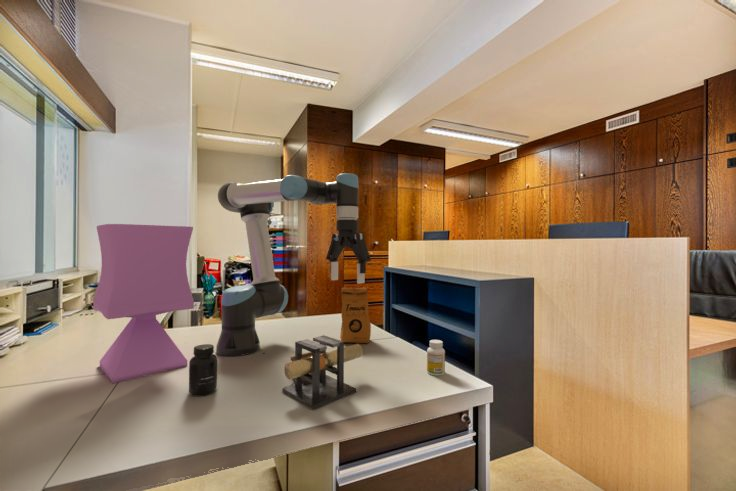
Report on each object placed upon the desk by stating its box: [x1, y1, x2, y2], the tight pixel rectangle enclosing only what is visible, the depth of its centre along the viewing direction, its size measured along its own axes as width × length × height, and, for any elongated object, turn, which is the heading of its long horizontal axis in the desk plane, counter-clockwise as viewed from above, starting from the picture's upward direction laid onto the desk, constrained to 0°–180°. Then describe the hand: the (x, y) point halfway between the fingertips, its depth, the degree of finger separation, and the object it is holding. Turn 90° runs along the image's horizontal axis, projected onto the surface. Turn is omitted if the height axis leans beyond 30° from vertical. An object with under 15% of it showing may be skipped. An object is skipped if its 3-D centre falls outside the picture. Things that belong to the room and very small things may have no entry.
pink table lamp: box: [93, 223, 195, 384], centre depth 109 cm, size 22×22×45 cm
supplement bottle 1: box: [188, 343, 218, 397], centre depth 90 cm, size 7×7×12 cm
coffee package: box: [339, 287, 372, 344], centre depth 138 cm, size 10×12×22 cm
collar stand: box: [282, 334, 357, 411], centre depth 90 cm, size 14×14×13 cm
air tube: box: [283, 343, 364, 381], centre depth 93 cm, size 24×4×4 cm, turn 135°
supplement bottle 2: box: [426, 339, 446, 377], centre depth 104 cm, size 5×5×10 cm
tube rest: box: [290, 351, 312, 381], centre depth 101 cm, size 6×8×6 cm
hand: (347, 281), depth 116 cm, fingers open, 13 cm apart
